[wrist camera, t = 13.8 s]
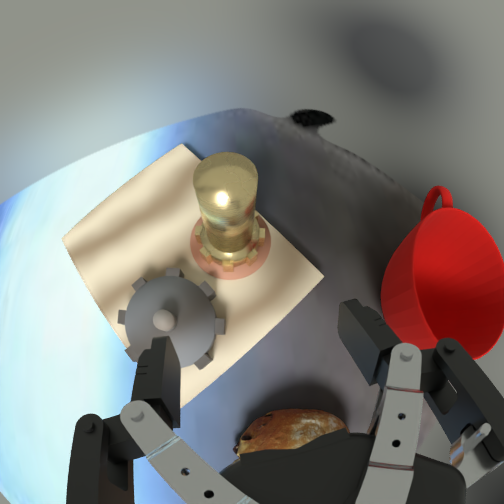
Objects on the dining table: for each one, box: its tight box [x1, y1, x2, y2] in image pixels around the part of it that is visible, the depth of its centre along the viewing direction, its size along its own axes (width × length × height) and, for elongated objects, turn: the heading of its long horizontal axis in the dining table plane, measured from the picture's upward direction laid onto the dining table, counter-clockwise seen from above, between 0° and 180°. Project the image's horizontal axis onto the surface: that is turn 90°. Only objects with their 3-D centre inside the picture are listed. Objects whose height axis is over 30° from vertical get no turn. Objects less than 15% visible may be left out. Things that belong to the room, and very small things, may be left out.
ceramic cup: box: [381, 186, 504, 360], centre depth 22 cm, size 13×17×10 cm
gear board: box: [62, 143, 324, 408], centre depth 24 cm, size 22×18×5 cm
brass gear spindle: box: [193, 152, 265, 272], centre depth 21 cm, size 6×6×10 cm
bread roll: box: [233, 409, 350, 463], centre depth 18 cm, size 10×10×8 cm
